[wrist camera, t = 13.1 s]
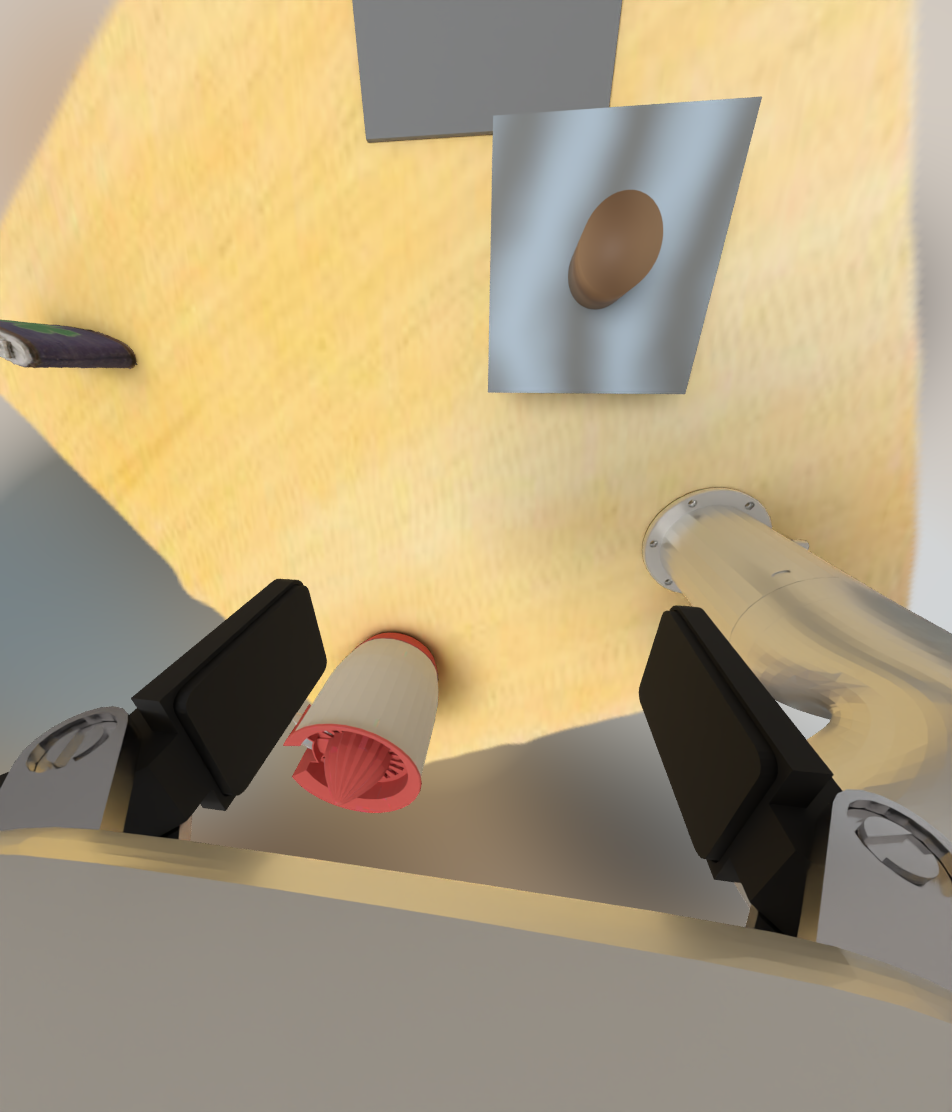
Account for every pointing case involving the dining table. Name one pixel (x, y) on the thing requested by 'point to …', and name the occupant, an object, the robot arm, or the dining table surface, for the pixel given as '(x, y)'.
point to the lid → (609, 242)
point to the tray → (479, 62)
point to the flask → (61, 347)
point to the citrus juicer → (370, 726)
